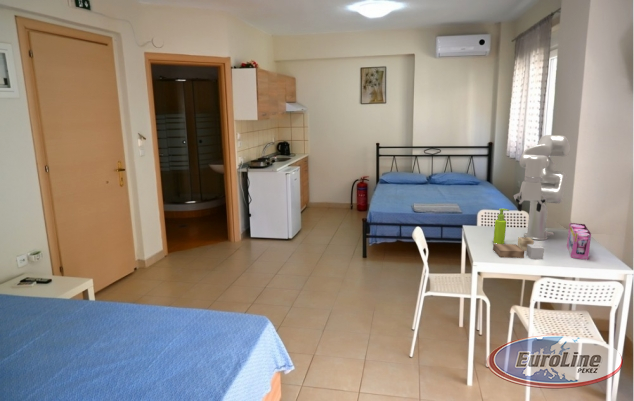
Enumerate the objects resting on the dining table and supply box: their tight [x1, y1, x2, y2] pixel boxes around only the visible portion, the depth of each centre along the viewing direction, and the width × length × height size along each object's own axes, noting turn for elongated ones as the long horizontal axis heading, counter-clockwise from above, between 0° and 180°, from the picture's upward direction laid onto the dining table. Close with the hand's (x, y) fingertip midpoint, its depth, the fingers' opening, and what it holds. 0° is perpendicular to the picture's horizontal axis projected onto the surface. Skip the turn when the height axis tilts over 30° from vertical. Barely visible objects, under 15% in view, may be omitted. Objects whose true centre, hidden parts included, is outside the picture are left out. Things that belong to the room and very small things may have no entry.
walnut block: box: [492, 243, 526, 259], centre depth 233 cm, size 12×12×4 cm
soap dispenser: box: [492, 208, 510, 244], centre depth 251 cm, size 6×7×20 cm
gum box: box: [566, 222, 592, 261], centre depth 234 cm, size 24×8×14 cm, turn 156°
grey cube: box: [525, 244, 545, 260], centre depth 228 cm, size 6×6×6 cm
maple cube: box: [517, 236, 535, 252], centre depth 241 cm, size 6×6×6 cm
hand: (528, 211), depth 237 cm, fingers open, 9 cm apart
